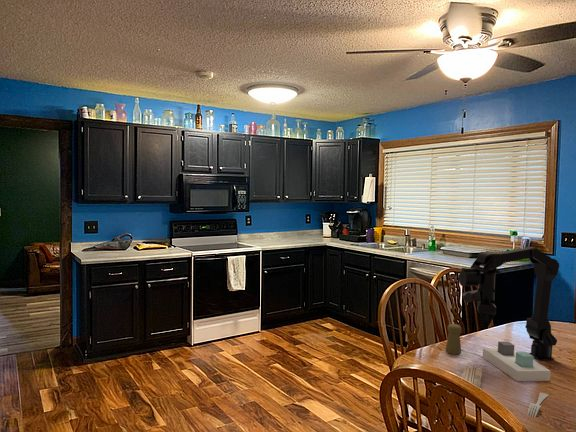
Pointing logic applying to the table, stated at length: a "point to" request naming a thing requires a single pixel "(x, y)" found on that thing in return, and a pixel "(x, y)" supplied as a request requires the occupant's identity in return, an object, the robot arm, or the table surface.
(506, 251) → the robot arm
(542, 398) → the fork
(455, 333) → the olive brown upright piece
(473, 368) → the newspaper
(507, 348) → the dark grey cube
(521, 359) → the teal green cube
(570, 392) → the table surface
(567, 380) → the table surface
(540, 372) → the white socket board
